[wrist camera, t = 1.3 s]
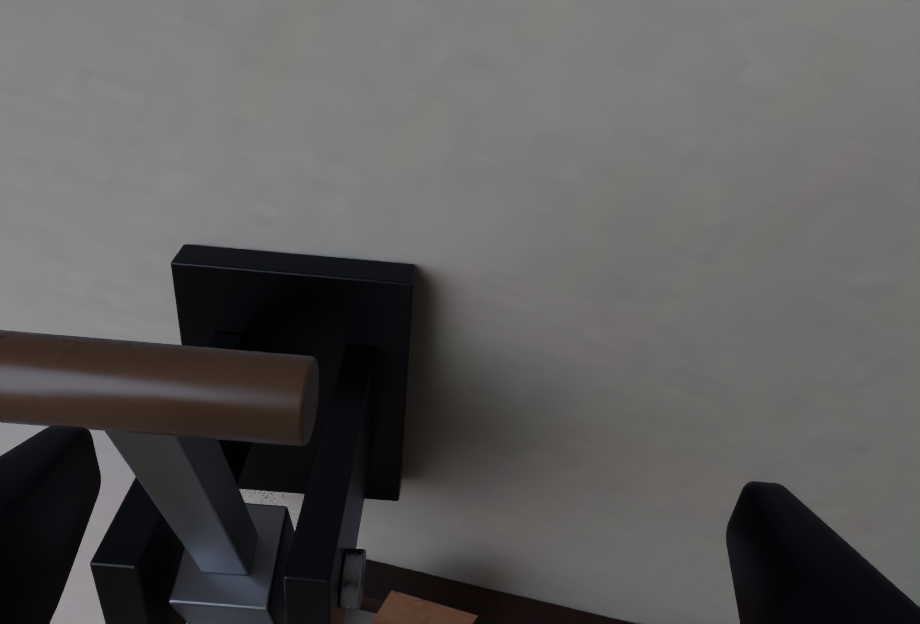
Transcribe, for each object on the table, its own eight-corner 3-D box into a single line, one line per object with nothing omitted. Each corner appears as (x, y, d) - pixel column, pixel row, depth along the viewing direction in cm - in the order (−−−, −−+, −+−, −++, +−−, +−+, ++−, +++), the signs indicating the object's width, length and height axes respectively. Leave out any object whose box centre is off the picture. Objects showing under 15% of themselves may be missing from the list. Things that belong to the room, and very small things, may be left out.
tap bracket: (183, 243, 22) (13, 479, 14) (416, 263, 23) (381, 507, 14) (210, 462, 27) (94, 734, 19) (401, 477, 28) (370, 753, 19)
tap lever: (-20, 280, 11) (-99, 427, 10) (321, 308, 11) (292, 458, 10) (164, 533, 20) (137, 628, 19) (351, 547, 20) (338, 642, 19)
